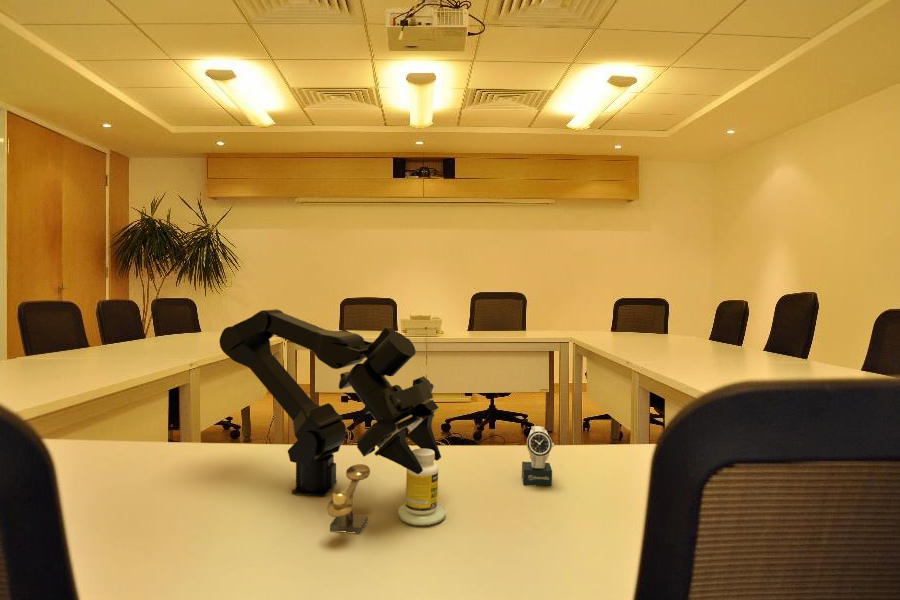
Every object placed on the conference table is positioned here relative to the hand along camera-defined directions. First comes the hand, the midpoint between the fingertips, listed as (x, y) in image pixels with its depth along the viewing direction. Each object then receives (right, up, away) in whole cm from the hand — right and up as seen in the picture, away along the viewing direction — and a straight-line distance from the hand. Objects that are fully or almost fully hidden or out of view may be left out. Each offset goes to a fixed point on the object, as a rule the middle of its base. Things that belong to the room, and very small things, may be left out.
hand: (430, 465), depth 85 cm
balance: (-13, -9, -3) cm, 16 cm away
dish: (-1, -9, +1) cm, 9 cm away
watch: (+21, -9, +16) cm, 28 cm away
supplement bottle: (-2, -8, +1) cm, 8 cm away
